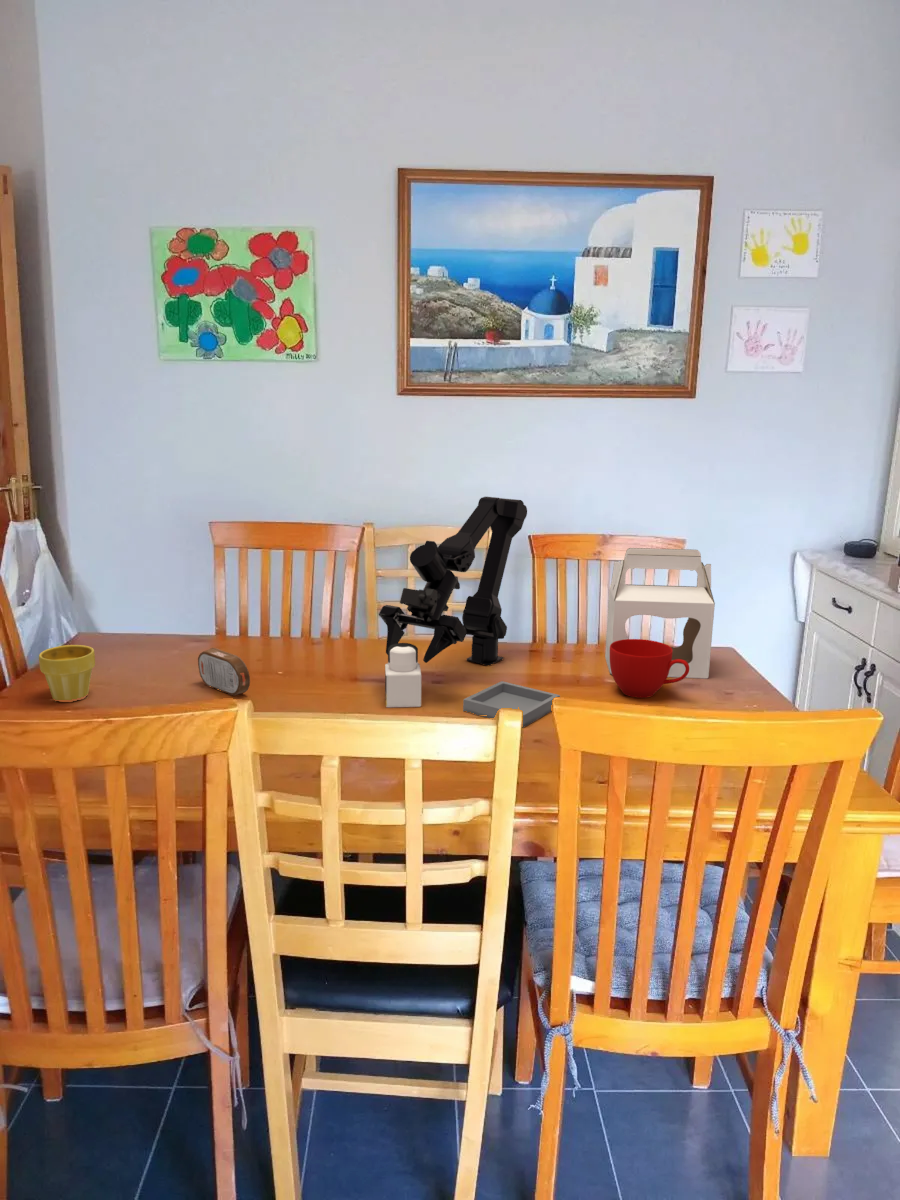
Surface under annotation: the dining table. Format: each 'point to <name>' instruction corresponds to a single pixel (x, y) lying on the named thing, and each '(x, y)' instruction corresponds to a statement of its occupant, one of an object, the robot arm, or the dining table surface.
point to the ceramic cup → (642, 666)
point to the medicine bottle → (403, 676)
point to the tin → (224, 671)
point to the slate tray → (510, 701)
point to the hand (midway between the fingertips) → (405, 657)
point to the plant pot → (68, 670)
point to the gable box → (665, 605)
